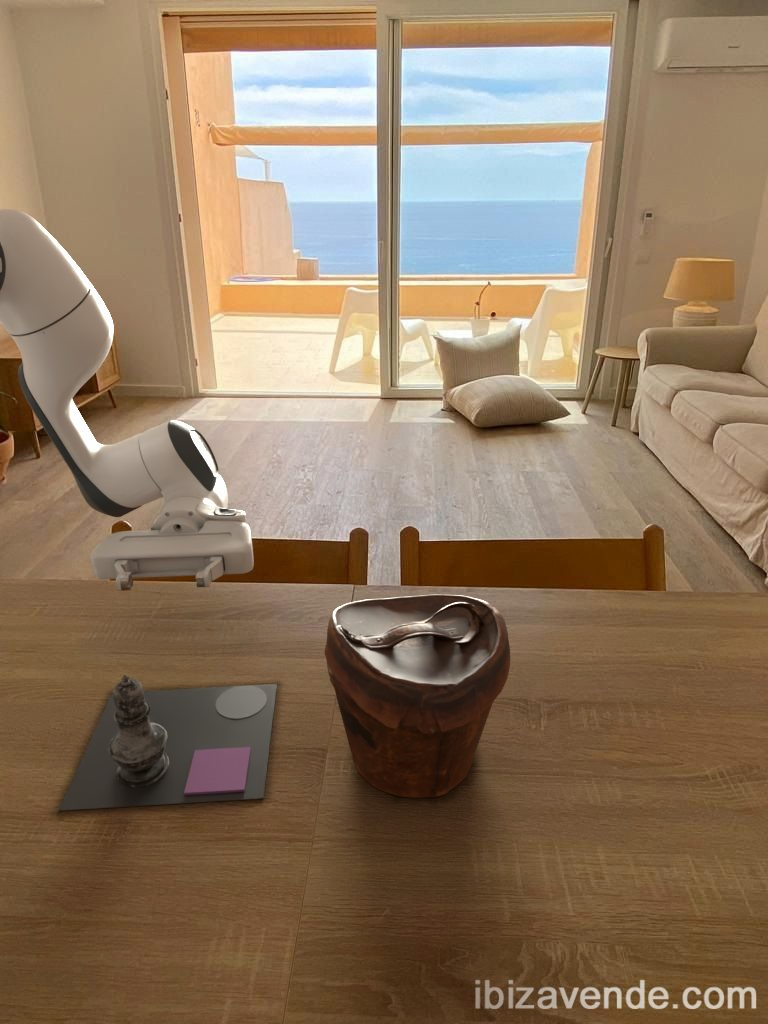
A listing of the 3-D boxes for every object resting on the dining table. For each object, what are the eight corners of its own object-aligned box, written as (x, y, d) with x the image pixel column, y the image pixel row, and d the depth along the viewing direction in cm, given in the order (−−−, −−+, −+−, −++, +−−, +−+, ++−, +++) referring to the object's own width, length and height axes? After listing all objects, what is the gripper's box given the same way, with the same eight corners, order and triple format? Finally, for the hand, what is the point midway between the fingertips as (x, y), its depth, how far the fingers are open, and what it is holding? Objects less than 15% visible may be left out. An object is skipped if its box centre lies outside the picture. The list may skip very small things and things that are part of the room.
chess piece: (102, 783, 71) (79, 689, 66) (133, 744, 76) (115, 653, 71) (153, 794, 70) (134, 698, 65) (182, 752, 75) (166, 661, 70)
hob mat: (58, 811, 68) (58, 810, 68) (112, 693, 85) (111, 692, 85) (263, 798, 69) (263, 797, 69) (277, 684, 86) (276, 683, 86)
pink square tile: (184, 795, 70) (183, 793, 70) (195, 752, 75) (194, 750, 75) (244, 791, 70) (244, 789, 70) (250, 748, 76) (250, 746, 75)
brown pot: (532, 731, 78) (545, 593, 70) (443, 860, 63) (448, 701, 55) (398, 676, 87) (398, 549, 80) (293, 777, 72) (280, 631, 64)
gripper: (104, 515, 94) (68, 564, 81) (256, 510, 95) (244, 557, 82) (112, 557, 97) (78, 610, 84) (260, 551, 98) (249, 602, 85)
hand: (162, 584), depth 83 cm, fingers open, 8 cm apart
